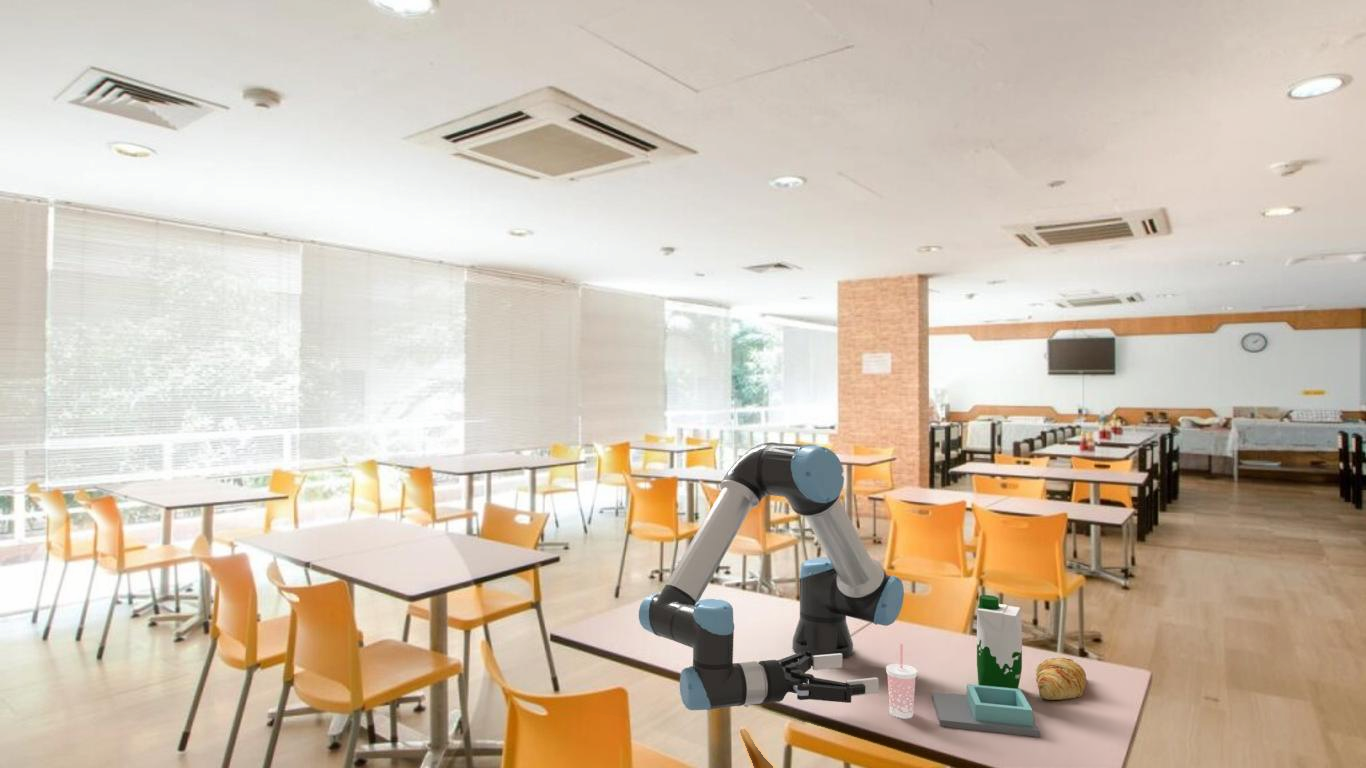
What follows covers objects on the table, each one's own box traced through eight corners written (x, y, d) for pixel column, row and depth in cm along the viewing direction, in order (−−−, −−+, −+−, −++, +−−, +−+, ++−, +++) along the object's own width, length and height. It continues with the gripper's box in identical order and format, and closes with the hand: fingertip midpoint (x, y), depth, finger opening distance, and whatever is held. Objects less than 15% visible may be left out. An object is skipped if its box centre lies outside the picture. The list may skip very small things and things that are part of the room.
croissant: (1057, 723, 149) (1077, 695, 147) (1013, 688, 156) (1031, 661, 153) (1089, 693, 164) (1107, 667, 162) (1047, 662, 171) (1064, 636, 168)
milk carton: (980, 678, 164) (981, 591, 164) (1024, 687, 159) (1024, 597, 160) (973, 691, 157) (974, 600, 157) (1018, 701, 152) (1019, 607, 152)
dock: (939, 726, 140) (940, 704, 140) (931, 697, 154) (931, 677, 154) (1039, 737, 136) (1039, 714, 136) (1022, 706, 149) (1022, 686, 150)
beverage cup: (913, 722, 141) (913, 651, 142) (882, 715, 144) (882, 646, 144) (919, 711, 147) (919, 642, 147) (889, 704, 150) (889, 637, 150)
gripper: (736, 677, 148) (828, 668, 154) (788, 730, 124) (893, 717, 131) (737, 641, 149) (828, 633, 155) (788, 687, 125) (894, 676, 131)
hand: (858, 672), depth 143 cm, fingers open, 13 cm apart
